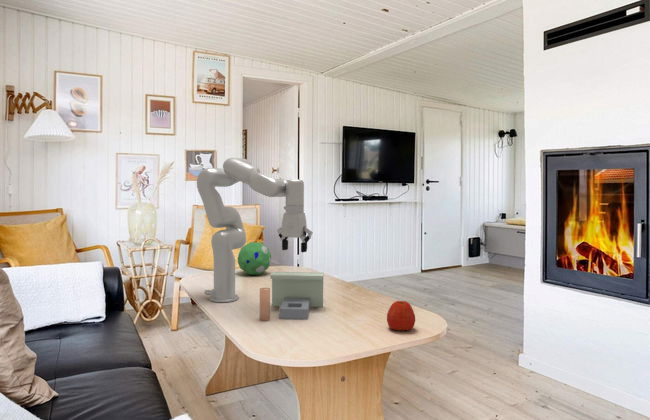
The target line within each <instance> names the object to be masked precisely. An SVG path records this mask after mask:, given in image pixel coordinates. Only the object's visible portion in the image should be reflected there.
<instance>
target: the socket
mask: <svg viewBox="0 0 650 420" xmlns="http://www.w3.org/2000/svg"><path fill="white" fill-rule="evenodd" d="M278 310H279V311H278V312H279V313H278V314H279V317H278V319H279V320H308V319H309V316H310V315H309V314H310V310H311V307H310V298H286V297H285V298H284V300H283V302H282V304H281V306H279V309H278Z"/></svg>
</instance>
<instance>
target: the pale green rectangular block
mask: <svg viewBox="0 0 650 420" xmlns="http://www.w3.org/2000/svg"><path fill="white" fill-rule="evenodd" d="M269 278H270V279H271V307H280V306H281V304H282V302H283V300H284V298H285V297H286V298H310V308H315V307H316V308H323V307H324V272H304V271H303V272H298V271H297V272H295V271H293V272H291V271H272V272H271V273H270V277H269Z"/></svg>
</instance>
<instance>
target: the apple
mask: <svg viewBox="0 0 650 420" xmlns="http://www.w3.org/2000/svg"><path fill="white" fill-rule="evenodd" d="M386 322H387V325H388V327H389V329H391V330H394V331H399V332H400V331H403V332H404V331H405V330H406V331H410V330H412V329H414V326H415V324H416V315H415V311H414V309H413V307H412V305H411V303H409V302H408V301H406V300H397V301H394V302H393V303H392V304H391V305H390V307H389V309H388V311H387V314H386Z"/></svg>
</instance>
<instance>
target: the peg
mask: <svg viewBox="0 0 650 420" xmlns="http://www.w3.org/2000/svg"><path fill="white" fill-rule="evenodd" d="M259 321H262V322H268V321H271V288H270V287H261V288H259Z"/></svg>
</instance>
